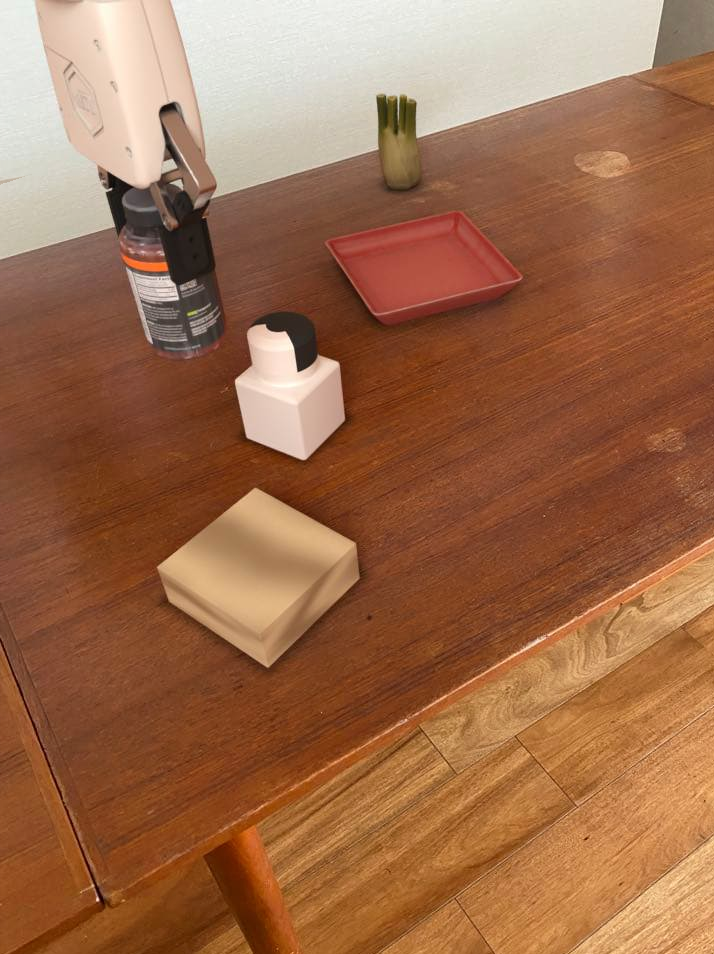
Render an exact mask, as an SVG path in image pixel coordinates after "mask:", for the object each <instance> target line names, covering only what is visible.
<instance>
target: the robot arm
mask: <svg viewBox="0 0 714 954" xmlns="http://www.w3.org/2000/svg"><path fill="white" fill-rule="evenodd" d="M34 5H35V10H36V17H37V22H38V26H39V31H40V37H41V40H42V45H43V49H44V54H45V57H46V62H47V66H48V69H49V75H50V77H51V81H52V86H53V89H54V94H55V97H56V100H57V105H58V109H59V112H60V115H61V120H62V122H63V127H64V131H65V134H66V137H67V139H68V141H69V143H70V144H71V146H72V147H73V149H75V150H76V151H77V152H78V153H79V154H81V155H82V156H83V157H85V158H86V159H88V160H89V161H91V162H92V163H94V164H96V166H97V175H98V179H99V182H100V183H101V185H102V187H103V188H104V189H105V190H107V191H105V196H106V199H107V204H108V207H109V210H110V213H111V218H112V221H113V224H114V227H115V231H116V235H117V238H118V239H119V235H120V232H121V230H122V228H123V227H124V226H125V225H126V223H127V219H126V218H125V212H124V208H123V204H122V198H123V196H124V194H125V193H126V192H127V191H129V190H130V189H132V188H134V187H136V188H139V189H146V188H148V187H149V189H150V192H151V194H152V197H153V199H154V202H155V204H156V207H157V209H158V212H159V214H160V217H161V219H162V222H163V224H164V225H162V226H160V227H158V230H159V234H160V238H161V242H162V246H163V251H164V255H165V259H166V263H167V267H168V271H169V275H170V279H171V281H172V282H173V283H175V284H176V285H182V284H185V283H187V282H189V281H192V280H194V279H196V278H199V277H201V276H203V275H206V274H208V273H210V272H212V271H214V270H215V271H216V267H217V264H216V260H215V255H214V249H213V243H212V238H211V235H210V230H209V229H210V228H209V224H208V220H207V218H208V217H209V216H210V209H209V206H210V204H211V198H212V197H213V195H214V194H215V191H216V190H217V188H218V185H217V180H216V177H215V175H214V174H213V172H212V169H211V168H210V167H209V165H208V162H207V161H206V158H207V157H206V143H205V135H204V129H203V123H202V118H201V113H200V109H199V103H198V99H197V95H196V91H195V90H196V89H195V85H194V81H193V77H192V73H191V70H190V66H189V62H188V61H189V60H188V57H187V53H186V50H185V47H184V42H183V38H182V35H181V32H180V28H179V25H178V21H177V18H176V14H175V11H174V8H173V5H172V1H171V0H34ZM170 160H173V162H174V165H176V167H175V168H172V169H169V170H166V171H164V172H163V167H164V162H167V161H170ZM179 180H180V181H181V183H182V192H179V193H177V194H176V196H175V198H174V200H173V203H172V204H171V201H170V198H169V196H168V193H167V191H166V188H165V186H164V185H166V184H168V183H170V184H172V183H174V182H176V181H179ZM110 189H111V190H110Z"/></svg>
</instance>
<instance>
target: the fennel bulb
mask: <svg viewBox="0 0 714 954" xmlns="http://www.w3.org/2000/svg"><path fill="white" fill-rule="evenodd" d="M375 99H376V109H377V110H376V111H377V148H378V157H379V161H380V162H379V163H380V167H381V173H382V176H383V179H384V182H385V183H386V185H387V187H388V188H389V189H390V190H392V191H397V192H406V191H409V190H410V189H412V188H415V187H416V186H417V185H418V184H419V182H420V180H421V176H422V165H421V154H420V149H419V145H418V138H417V104H418V103H417V101H416V99H414V98H410V97H408V96H407V95H406V94H403V93H400V95H399V100H398V96H397V95H389V96H387V95H386V93H379V94H376V95H375Z"/></svg>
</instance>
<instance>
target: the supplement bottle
mask: <svg viewBox="0 0 714 954" xmlns="http://www.w3.org/2000/svg"><path fill="white" fill-rule="evenodd" d="M164 186H165V188H166V191H167V193H168V196H169V198H170V201H171V204H172V203H173V200H174V198H175V196H176V194H177V193H179V192H182V190H183V188H182V187H180V186H178V185H176V184H174V183H168V184H166V185H164ZM122 204H123V208H124V212H125V218H126V219H127V223H126V225H125V226H124V227H123V228H122V230H121V232H120V235H119V238H118V245H119V250H120V253H121V257H122V260H123V264H124V267H125V272H126V274H127V275H126V276H127V278H128V281H129V285H130V288H131V291H132V295H133V298H134V302H135V305H136V308H137V311H138V314H139V318H138V320H139V321H140V322H141V326H142V327H143V330H144V331H143V332H144V336H145V339H146V340H147V344H148V347H149V349H151V352H153V353H154V355H156V356H158V357H160V358H162V359H164V360H168V361H173V362H190V361H194V360H199V359H203V358H205V357H207V356H210V355H211V354H213V353H215V352H217V351H218V350H219V349H220V348H221V347H222V346H224V343H226V342H225V341H226V340H227V338H228V333H229V332H228V325H227V317H226V314H225V309H224V305H223V300H222V296H221V290H220V287H219V281H218V277H217V272H216V269H215V270H214V271H212V272H210V273H208V274H206V275H203V276H201V277H199V278H196V279H194V280H192V281H189V282H187V283H185V284H182V285H176V284H175V283H173V282H172V281H171V279H170V275H169V271H168V267H167V263H166V259H165V255H164V251H163V246H162V242H161V238H160V234H159V230H158V227H160V226H162V225H164V224H163V222H162V219H161V217H160V214H159V212H158V209H157V207H156V204H155V202H154V199H153V197H152V194H151V192H150V189H149V187H148V188H146V189H139V188H136V187H134V188H132V189H130V190H129V191H127V192H126V193H125V194H124V196H123V198H122Z"/></svg>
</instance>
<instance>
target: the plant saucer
mask: <svg viewBox="0 0 714 954" xmlns="http://www.w3.org/2000/svg"><path fill="white" fill-rule="evenodd" d="M324 244H325V246H326V248H327V249H328V250H329V252H330V253H331V255H332V256H333V258H334V259H335V260H336V262H337V263H338V265H339V267H340V268H341V269H342V271H343V272H344V274H345V276H346V277H347V278H348V280H349V281H350V283H351V285H352V286H353V287H354V289H355V291H356V292H357V293H358V295H359V297H360V298H361V299H362V301H363V302H364V304H365V306H366V307H367V308H368V310H369V311H370V313H371V314H372V316H373V317H374V318H375V319H376V320H377V321H379V322H381V323H382V324H383V325H385V326H392V325H396V324H400V323H405V322H409V321H412V320H416V319H420V318H424V317H429V316H432V315H437V314H440V313H445V312H448V311H453V310H457V309H460V308H464V307H468V306H473V305H477V304H480V303H485V302H488V301H493V300H497V299H499V298H501V297H502V296H504V295H505V294H507V293H508V292H510V291H511V290H513V288H515V287H516V286H517V285H518V284H519V283H520V282H521V281H523V274H522V273H520V272H519V271H518V269H517V268H516V267H515V266H514V265H513V264H512V262H510V261H509V259H508V258H506V256H505V255H504V254H503V253H502V252H501V251H500V250H499V249H498V247H496V246H495V244H493V242H492V241H491V240H490V239H489V238H488V236H486V235H485V234H484V233H483V232H482V231H481V229H479V228H478V227H477V226H476V225H475V223H474V222H473V221H472V220H471V219H469V217H468V215H466V214H465V213H464V212H463V211H461V210H460V211H459V210H452V211H448V212H444V213H439V214H435V215H430V216H426V217H422V218H421V217H420V218H417V219H412V220H408V221H404V222H398V223H394V224H389V225H386V226H381V227H377V228H372V229H368V230H364V231H359V232H355V233H349V234H346V235H345V234H344V235H340V236H338V237H332V238H329V239H327V240H326V241H325V242H324Z"/></svg>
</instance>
